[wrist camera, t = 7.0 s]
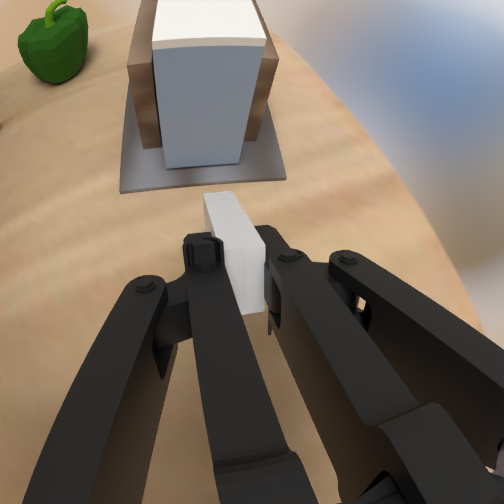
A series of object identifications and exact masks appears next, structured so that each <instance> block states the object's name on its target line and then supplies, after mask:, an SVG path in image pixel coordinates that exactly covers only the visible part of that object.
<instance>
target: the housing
mask: <svg viewBox="0 0 504 504" xmlns="http://www.w3.org/2000/svg"><path fill="white" fill-rule="evenodd" d="M157 3H158V0H142V1H141V5H140V8H139V13H138V16H137V20H136V25H135V29H134V33H133V38H132V42H131V47H130V52H129V57H128V63H127V68H128V74H129V86H128V94H127V101H126V110H125V119H124V129H123V140H122V152H121V168H120V190H119V192H120V194H124V193H132V192H141V191H149V190H158V189H168V188H178V187H189V186H200V185H212V184H225V183H240V182H256V181H276V180H286V178H287V177H286V173H285V169H284V164H283V160H282V156H281V152H280V148H279V144H278V141H277V137H276V133H275V129H274V125H273V121H272V118H271V114H270V110H269V106H268V103H267V100H268V97H269V93H270V89H271V86H272V82H273V79H274V75H275V72H276V68H277V65H278V61H279V57H278V55H277V52H276V49H275V47H274V44H273V42H272V39H271V37H270V34H269V32H268V29H267V27H266V24H265V22H264V19H263V17H262V15H261V12H260V10H259V8H258V5H257V3H256V1H255V0H252V3H253V5H254V7H255V10H256V12H257V15H258V17H259V20H260V22H261V25H262V28H263V30H264V33H265V35H266V38H267V39H266V43H265V47H264V51H263V55H262V60H261V64H260V68H259V72H258V77H257V81H256V85H255V90H254V94H253V99H252V103H251V108H250V112H249V117H248V121H247V126H246V130H245V135H244V140H243V144H242V149H241V154H240V158H239V163H233V164H217V165H204V166H191V167H180V168H170V169H166V164H165V157H164V150H163V143H162V136H161V128H160V120H159V111H158V102H157V93H156V83H155V73H154V62H153V49H152V37H153V29H154V22H155V16H156V9H157Z"/></svg>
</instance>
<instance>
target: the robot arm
mask: <svg viewBox="0 0 504 504" xmlns="http://www.w3.org/2000/svg"><path fill="white" fill-rule="evenodd" d="M203 202H204V216H205V229H206V232H203V233H194V234H188V235H187V236H186V237H185V238H184V240H183V241H184V244H183V247H182V248H183V256H184V264H185V273H184V274H183V275H182V276H181V277H180V278H178V279H176V280H174V281H172V282H169V283H166V282H165V281H164V279H163V278H161V277H159V276H154V275H143V276H141V277H137V278H135V279H133V280H132V281H130V282H129V283H128V284H127V285H126V287H125V288H124V290H123V292H122V293H121V295H120V297H119V298H118V300H117V302H116V303H115V305H114V307H113V309H112V310H111V312H110V314H109V316H108V317H107V319H106V321H105V323H104V325H103V326H102V328H101V330H100V332H99V334H98V335H97V337H96V339H95V341H94V343H93V345H92V346H91V348H90V350H89V352H88V354H87V356H86V358H85V360H84V362H83V364H82V366H81V367H80V369H79V371H78V373H77V375H76V377H75V379H74V381H73V383H72V385H71V387H70V390H69V392H68V394H67V396H66V398H65V400H64V402H63V404H62V406H61V408H60V411H59V413H58V415H57V417H56V419H55V422H54V424H53V426H52V428H51V431H50V433H49V435H48V437H47V440H46V442H45V445H44V447H43V449H42V452H41V454H40V457H39V459H38V462H37V464H36V467H35V469H34V472H33V475H32V477H31V480H30V483H29V485H28V488H27V491H26V494H25V496H24V499H23V502H22V504H141V503H142V498H143V493H144V488H145V484H146V479H147V474H148V469H149V465H150V460H151V456H152V451H153V447H154V443H155V438H156V434H157V430H158V425H159V421H160V417H161V413H162V409H163V405H164V401H165V396H166V392H167V389H168V385H169V381H170V377H171V373H172V369H173V365H174V361H175V358H176V354H177V350H178V343H179V342H181V341H184V340H187V339H189V338H192V337H193V344H194V351H195V359H196V366H197V373H198V380H199V386H200V393H201V399H202V405H203V411H204V417H205V423H206V428H207V434H208V439H209V445H210V450H211V455H212V461H213V470H214V476H215V481H216V486H217V491H218V495H219V500H220V504H319V503H318V501H317V499H316V496H315V494H314V491H313V489H312V486H311V484H310V481H309V479H308V476H307V474H306V471H305V469H304V466H303V464H302V462H301V460H300V458H299V457H298V455H297V454H296V452H293V451H291V450H290V449H289V447H288V445H287V443H286V441H285V438H284V435H283V433H282V430H281V427H280V424H279V422H278V419H277V416H276V413H275V411H274V408H273V405H272V402H271V399H270V397H269V394H268V391H267V388H266V385H265V382H264V380H263V377H262V374H261V371H260V368H259V365H258V362H257V360H256V357H255V354H254V351H253V348H252V345H251V342H250V339H249V336H248V333H247V330H246V327H245V324H244V321H243V318H242V315H244V314H251V313H258V312H264V311H265V300H266V302H267V305H268V335H271V330H272V329H273V331H274V333H275V335H276V338H277V340H278V342H279V345H280V347H281V349H282V351H283V354H284V356H285V358H286V361H287V363H288V365H289V368H290V370H291V372H292V374H293V377H294V379H295V381H296V384H297V386H298V388H299V390H300V393H301V395H302V397H303V400H304V402H305V404H306V406H307V409H308V411H309V413H310V415H311V418H312V420H313V422H314V424H315V427H316V429H317V431H318V433H319V436H320V438H321V440H322V442H323V445H324V447H325V449H326V451H327V454H328V456H329V458H330V460H331V463H332V465H333V467H334V469H335V472H336V474H337V478H338V491H339V496H340V499H341V501H342V503H338V504H504V350H503V349H502V348H501V347H499V346H498V345H496V344H495V343H494V342H492V341H491V340H490V339H488V338H487V337H485V336H484V335H483V334H481V333H480V332H478V331H477V330H476V329H474V328H473V327H471V326H470V325H468V324H467V323H466V322H464V321H463V320H461V319H460V318H458V317H457V316H455V315H454V314H452V313H451V312H449V311H448V310H447V309H445V308H444V307H442V306H441V305H439V304H438V303H436V302H435V301H433V300H432V299H430V298H429V297H427V296H426V295H424V294H423V293H421V292H419V291H418V290H416V289H415V288H413V287H412V286H410V285H409V284H407V283H406V282H404V281H402V280H401V279H399V278H398V277H396V276H395V275H393V274H392V273H390V272H388V271H387V270H385V269H384V268H382V267H380V266H379V265H377V264H376V263H374V262H372V261H371V260H369V259H368V258H366V257H364V256H363V255H361V254H359V253H356V252H353V251H350V250H341V251H336V252H333V253H332V254H331V255H330V257H329V263H321V262H312V261H311V260H310V259H309V258H308V256H307V255H306V254H305V253H304V252H302V251H300V250H297V249H292V248H290V247H289V246H288V244H287V243H286V242H285V240H284V239H283V238H282V236H281V235H280V234H279V232H278V231H277V230H276V229H275V228H273V227H271V226H269V225H261V226H253V224H252V222H251V221H250V219H249V218H248V216H247V214H246V213H245V211H244V210H243V208H242V206H241V205H240V203H239V201H238V200H237V198H236V197H235V195H234V193H233V192H232V191H226V192H215V193H204V194H203ZM360 297H361V298H362V299H364V300H365V301H366V303H365V307H364V310H361V309H360V308H358V303H359V298H360ZM485 466H487V467H489V468H491V469H493V470H494V471H493V472H492V473H490V472H489V471H488V470H487V468H486V467H485Z"/></svg>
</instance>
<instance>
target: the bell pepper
mask: <svg viewBox="0 0 504 504" xmlns="http://www.w3.org/2000/svg"><path fill="white" fill-rule="evenodd" d="M66 2H67V0H56V1H54V2H52V3H51V4H50V6H49V7H48V9H47V10H46V14H45V17H44V18H39V19H34V20H32V21H31V23H30V24H29V25H28V27H27V28H26V30H25V31H24V32H23V33H22V34H21V35H19V37H18V48H19V51H20V54H21V56H22V58H23V61H24V63H25V64H26V66H27V67H28V68H29V69H30V70H31V72H32V73H33V74H34V75H35V76H36V77H37V78H38V79H40V80H43V81H45V80H46V81H48V82H51V83H54V84H57V83H60V82H63V81H66V80H68V79H69V78H71V77H72V76H74V75H76V73H77V72H78V70H79V69H80V67H81V64H82V63H83V62H84V59H85V57H86V53H87V44H88V23H87V17H86V13H85V12H84V11H83V10H82V9H81V8H77V9H75V8H73V7H70V6H68V5H66V6H64V7H62V8H60V9H59V10H57V11H55V12H54V10H55V9H56V8H57V7H58V6H59V5H61V4H66Z"/></svg>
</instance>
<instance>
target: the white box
mask: <svg viewBox="0 0 504 504" xmlns="http://www.w3.org/2000/svg"><path fill="white" fill-rule="evenodd" d="M266 39H267V38H266V35H265V33H264V30H263V28H262V25H261V22H260V20H259V17H258V15H257V12H256V10H255V7H254V5H253V3H252V0H158V3H157V9H156V16H155V22H154V29H153V37H152V49H153V62H154V73H155V83H156V93H157V102H158V111H159V120H160V128H161V136H162V143H163V150H164V157H165V164H166V169H170V168H180V167H191V166H204V165H217V164H233V163H239V158H240V154H241V149H242V144H243V140H244V135H245V130H246V126H247V121H248V117H249V112H250V108H251V103H252V99H253V94H254V90H255V85H256V81H257V77H258V72H259V68H260V64H261V60H262V55H263V51H264V47H265V43H266Z"/></svg>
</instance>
